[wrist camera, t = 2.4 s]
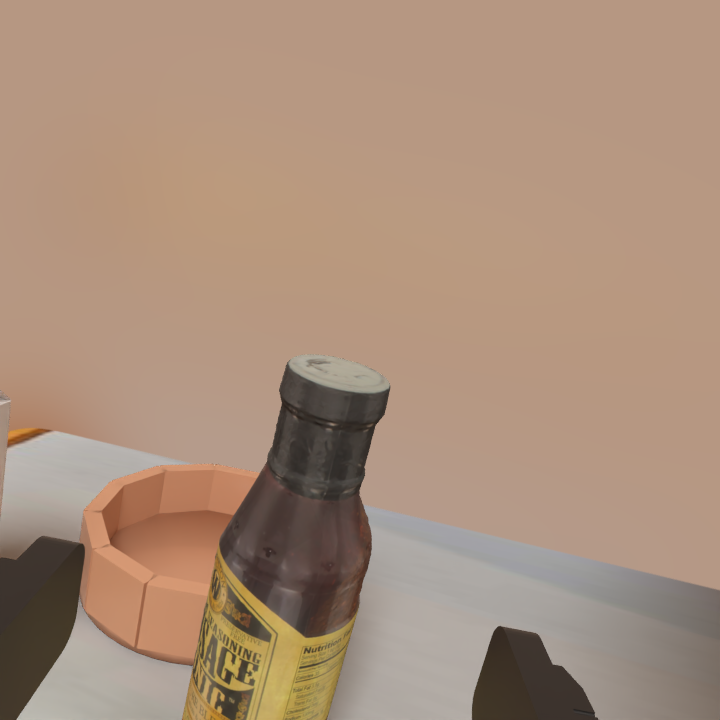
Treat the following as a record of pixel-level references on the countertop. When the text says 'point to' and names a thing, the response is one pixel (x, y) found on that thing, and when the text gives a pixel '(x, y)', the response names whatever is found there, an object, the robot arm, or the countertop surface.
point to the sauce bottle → (292, 555)
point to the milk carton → (3, 437)
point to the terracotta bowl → (157, 554)
